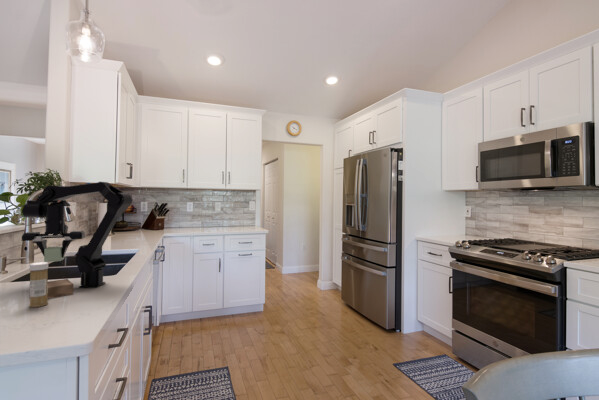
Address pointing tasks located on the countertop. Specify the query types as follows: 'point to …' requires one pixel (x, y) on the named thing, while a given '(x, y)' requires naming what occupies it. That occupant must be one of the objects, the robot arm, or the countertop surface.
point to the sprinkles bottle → (38, 284)
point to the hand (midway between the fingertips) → (54, 257)
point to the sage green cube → (53, 254)
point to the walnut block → (59, 288)
